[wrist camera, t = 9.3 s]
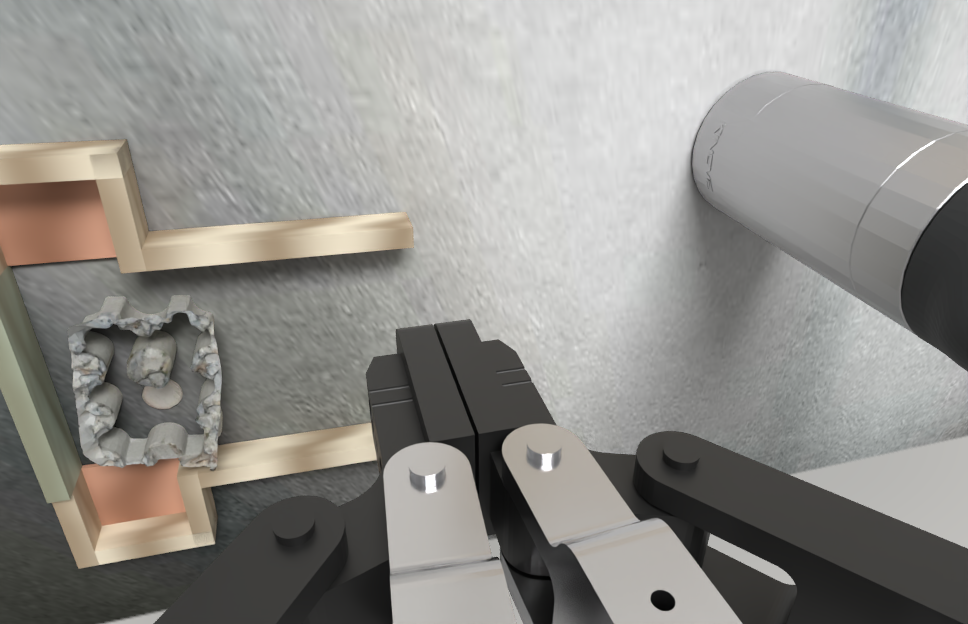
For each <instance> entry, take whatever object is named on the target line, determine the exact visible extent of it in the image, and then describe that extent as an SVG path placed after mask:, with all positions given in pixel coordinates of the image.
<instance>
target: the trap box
mask: <svg viewBox="0 0 968 624" xmlns="http://www.w3.org/2000/svg"><path fill="white" fill-rule="evenodd" d="M403 248H414V241H413V227H412V224H411V222H410V220H409V218H408V216H407V214H406V212H399V213H386V214H373V215H360V216H347V217H333V218H320V219H307V220H294V221H280V222H267V223H254V224H241V225H227V226H214V227H201V228H188V229H175V230H161V231H149V230H148V225H147V221H146V217H145V213H144V209H143V205H142V201H141V196H140V192H139V188H138V184H137V180H136V176H135V172H134V167H133V163H132V159H131V155H130V151H129V147H128V143H127V139H123V140H101V141H79V142H57V143H34V144H12V145H0V389H1V391H2V393H3V396H4V398H5V401H6V403H7V406H8V408H9V411H10V413H11V415H12V418H13V420H14V423H15V425H16V428H17V430H18V432H19V435H20V437H21V440H22V442H23V445H24V447H25V450H26V452H27V454H28V457H29V459H30V462H31V464H32V467H33V469H34V472H35V474H36V476H37V479H38V481H39V484H40V486H41V489H42V491H43V494H44V496H45V498H46V501H47V503H52V504H53V506H54V509H55V511H56V514H57V516H58V519H59V521H60V524H61V526H62V528H63V531H64V533H65V536H66V538H67V541H68V543H69V546H70V548H71V551H72V553H73V556H74V558H75V561H76V563H77V566H78V568H85V567H90V566H96V565H101V564H107V563H112V562H118V561H123V560H129V559H134V558H140V557H145V556H151V555H156V554H162V553H168V552H173V551H179V550H184V549H190V548H195V547H201V546H206V545H212V544H215V539H216V529H217V518H218V515H217V511H216V507H215V503H214V499H213V495H212V491H211V487H212V486H219V485H225V484H231V483H237V482H243V481H249V480H256V479H262V478H268V477H274V476H280V475H286V474H293V473H299V472H305V471H311V470H317V469H323V468H330V467H336V466H342V465H348V464H354V463H360V462H367V461H373V460H377V457H376V451H375V446H374V440H373V434H372V425H371V423H365V424H358V425H352V426H345V427H338V428H332V429H325V430H318V431H311V432H305V433H298V434H291V435H284V436H278V437H271V438H264V439H258V440H251V441H244V442H237V443H231V444H224V445H218V448H217V459H218V462H217V468H216V470H214V471H211V470H210V467H206V466H201V467H184V466H182V465H181V464H180V461H179V460H178V459H179V458H172V459H160V460H158V461H157V463H156V464H155V465H153V466H146V465H145V464H131V465H126V466H125V467H124V468H121V467H116V466H100V465H98V464H89V465H83V466H82V463H81V460H80V457H79V455H78V452H77V449H76V446H75V443H74V441H73V438H72V435H71V432H70V430H69V427H68V424H67V421H66V419H65V416H64V413H63V410H62V407H61V405H60V402H59V399H58V396H57V394H56V391H55V388H54V385H53V382H52V380H51V377H50V374H49V371H48V369H47V366H46V363H45V360H44V357H43V355H42V352H41V349H40V346H39V344H38V341H37V338H36V335H35V333H34V330H33V327H32V324H31V321H30V319H29V316H28V313H27V310H26V308H25V305H24V302H23V299H22V296H21V294H20V291H19V288H18V285H17V283H16V280H15V277H14V274H13V271H12V269H11V266H14V265H26V264H38V263H50V262H62V261H74V260H86V259H98V258H110V257H117V260H118V263H119V267H120V271H121V273H132V272H143V271H155V270H166V269H177V268H189V267H200V266H211V265H222V264H234V263H245V262H256V261H268V260H279V259H290V258H302V257H313V256H324V255H335V254H347V253H358V252H369V251H381V250H392V249H403Z"/></svg>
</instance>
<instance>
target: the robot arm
mask: <svg viewBox="0 0 968 624" xmlns="http://www.w3.org/2000/svg"><path fill="white" fill-rule="evenodd" d="M692 167H693V175H694V180H695V182H696V185H697V188H698V190H699V192H700V193H701V194H702V196H703V197H704V199H705V200H706V201H707V202H709V203H710V204H711V205H712V206H714V207H715V208H717V209H718V210H720V211H721V212H723V213H725V214H726V215H728V216H729V217H731V218H732V219H734V220H736V221H737V222H739V223H740V224H742V225H743V226H745V227H746V228H748V229H749V230H751V231H752V232H754V233H755V234H757V235H759V236H760V237H762V238H763V239H765V240H767V241H768V242H770V243H771V244H773V245H774V246H776V247H778V248H779V249H781V250H782V251H784V252H785V253H787V254H789V255H790V256H792V257H793V258H795V259H797V260H798V261H800V262H801V263H803V264H804V265H806V266H808V267H809V268H811V269H812V270H814V271H815V272H817V273H819V274H820V275H822V276H823V277H825V278H827V279H828V280H830V281H831V282H833V283H834V284H836V285H838V286H839V287H841V288H842V289H844V290H846V291H847V292H849V293H850V294H852V295H853V296H855V297H857V298H858V299H860V300H861V301H863V302H864V303H866V304H868V305H869V306H871V307H873V308H874V309H876V310H878V311H879V312H881V313H882V314H884V315H885V316H887V317H889V318H890V319H892V320H893V321H895V322H896V323H898V324H900V325H901V326H903V327H904V328H906V329H907V330H909V331H911V332H912V333H914V334H915V335H917V336H918V337H919V338H921V339H923V340H924V341H926V342H927V343H929V344H931V345H932V346H934V347H935V348H937V349H939V350H940V351H941V352H943V353H944V354H946V355H947V356H948V357H949V358H951V359H952V360H953V361H954V362H956V363H957V364H958V365H959V366H961V367H962V368H964V369H965V370H966V371H968V125H966V124H962V123H959V122H955V121H952V120H948V119H945V118H941V117H938V116H934V115H931V114H927V113H924V112H920V111H917V110H913V109H910V108H906V107H903V106H899V105H896V104H892V103H889V102H885V101H882V100H878V99H875V98H871V97H868V96H864V95H861V94H857V93H854V92H850V91H847V90H843V89H840V88H836V87H833V86H830V85H827V84H823V83H820V82H816V81H812V80H809V79H805V78H801V77H798V76H794V75H790V74H787V73H783V72H766V73H762V74H758V75H754V76H752V77H750V78H747V79H745V80H743V81H741V82H739V83H738V84H737V85H735V86H734V87H733V88H731V89H730V90H729V91H727V92H726V93H725V94H724V95H723V96H722V97H721V98H720V99H719V100H718V101H717V103H716V104H715V105H714V106H713V107H712V109H711V110H710V112H709V113H708V115H707V116H706V118H705V119H704V121H703V124H702V126H701V128H700V130H699V132H698V135H697V138H696V142H695V146H694V149H693V161H692ZM396 344H397V354H392V355H385V356H378V357H374V358H373V360H372V362H371V364H370V366H369V368H368V370H367V372H366V378H367V388H368V397H369V407H370V416H371V425H372V434H373V440H374V446H375V451H376V457H377V463H378V467H379V474H380V475H379V477H378V479H377V480H376V482H375V483H374V484H373V486H372V487H371V488H370V489H368V490H367V491H366V492H365V493H364V494H362V495H361V496H359V497H357V498H356V499H354V500H352V501H350V502H347V503H345V504H343V505H341V506H339V507H337V506H336V505H335V504H334V503H332V502H331V501H329V500H326V499H324V498H321V497H317V496H296V497H291V498H287V499H284V500H281V501H279V502H276V503H275V504H273V505H271V506H269V507H268V508H266V509H265V510H263V511H262V512H261V513H260V514H259V515H258V516H256V517H255V519H254V520H253V521H252V522H251V523H250V524H249V525H248V526H247V527H246V528H245V529H244V530H243V531H242V532H241V533H240V534H239V535H238V536H237V537H236V538H235V539H234V540H233V541H232V543H231V544H230V545H229V546H228V547H227V548H226V549H225V550H224V551H223V552H222V553H221V554H220V555H219V556H218V557H217V558H216V559H215V560H214V561H213V562H212V563H211V564H210V566H209V567H208V568H207V569H206V570H205V571H204V572H203V573H202V574H201V575H200V576H199V577H198V578H197V579H196V580H195V581H194V582H193V583H192V584H191V585H190V586H189V587H188V588H187V590H186V591H185V592H184V593H183V594H182V595H181V596H180V597H179V598H178V599H177V600H176V601H175V602H174V603H173V604H172V605H171V606H170V607H169V608H168V609H167V610H166V611H165V612H164V614H163V615H162V616H161V617H160V618H159V619H158V620H157V621H156V622H155V623H154V624H517V623H516V619H515V615H514V611H513V607H512V603H511V599H510V595H509V592H510V594H511V596H512V599H513V601H514V603H515V606H516V608H517V610H518V612H519V614H520V617H521V619H522V621H523V624H968V549H967V548H965V547H962V546H960V545H958V544H955V543H953V542H950V541H948V540H945V539H943V538H940V537H938V536H936V535H933V534H931V533H928V532H926V531H924V530H921V529H919V528H916V527H914V526H912V525H909V524H907V523H904V522H902V521H900V520H897V519H894V518H892V517H890V516H887V515H885V514H882V513H880V512H878V511H875V510H873V509H870V508H868V507H865V506H863V505H861V504H858V503H856V502H854V501H851V500H849V499H846V498H844V497H841V496H839V495H837V494H834V493H832V492H829V491H827V490H824V489H822V488H820V487H817V486H815V485H812V484H810V483H808V482H805V481H803V480H800V479H798V478H795V477H793V476H791V475H788V474H786V473H783V472H781V471H779V470H776V469H774V468H771V467H769V466H767V465H764V464H762V463H759V462H757V461H754V460H752V459H750V458H747V457H745V456H742V455H740V454H738V453H735V452H733V451H730V450H728V449H725V448H723V447H721V446H718V445H716V444H713V443H711V442H709V441H706V440H704V439H701V438H699V437H696V436H694V435H691V434H687V433H683V432H676V431H665V432H658V433H654V434H652V435H649V436H648V437H646V438H644V439H643V440H642V441H641V442H640V444H639V446H638V448H637V453H636V455H628V454H612V453H601V452H596V451H591V450H588V449H587V448H586V446H585V445H584V443H583V442H582V441H581V440H580V438H579V437H578V436H576V435H575V434H574V433H572V432H571V431H569V430H567V429H565V428H563V427H560V426H557V425H556V423H555V422H554V420H553V418H552V416H551V414H550V413H549V411H548V409H547V407H546V405H545V404H544V402H543V400H542V398H541V396H540V395H539V393H538V391H537V389H536V387H535V385H534V384H533V383H532V382H531V378H530V376H529V375H528V373H527V371H526V370H525V369H524V366H523V364H522V362H521V360H520V358H519V356H518V355H517V353H516V351H514V350H513V349H511V348H510V347H508V346H507V345H506V344H504V343H503V342H501V341H500V340H492V341H484V342H481V340H480V338H479V336H478V334H477V332H476V329H475V327H474V325H473V323H472V321H471V320H470V319H468V320H460V321H453V322H445V323H437V324H434V326H433V325H432V324H431V325H423V326H416V327H408V328H400V329H396ZM710 533H711V534H713V535H715V536H717V537H719V538H721V539H723V540H725V541H727V542H729V543H731V544H733V545H736V546H737V547H740V548H742V549H744V550H746V551H748V552H750V553H752V554H754V555H756V556H758V557H760V558H762V559H764V560H767V561H768V562H770V563H772V564H774V565H777V566H778V567H780V568H781V569H783V570H784V571H785V572H787V573H788V574H789V575H790V576H791V578H792V579H793V580H794V582H795V584H796V585H788V584H784V583H781V582H780V581H777V580H775V579H773V578H771V577H769V576H767V575H765V574H763V573H761V572H759V571H757V570H755V569H753V568H751V567H749V566H747V565H745V564H743V563H741V562H739V561H737V560H735V559H733V558H731V557H729V556H727V555H725V554H723V553H721V552H719V551H717V550H715V549H713V548H711V547H709V546H707V544H708V540H709V536H710ZM493 534H496V536H497V539H498V542H499V545H500V560H499V558H498V557H492V554H491V549H490V545H489V541H488V537H487V536H488V535H493ZM508 590H509V591H508Z"/></svg>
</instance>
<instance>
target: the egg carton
mask: <svg viewBox="0 0 968 624" xmlns="http://www.w3.org/2000/svg"><path fill="white" fill-rule="evenodd" d="M176 313H186V314H187V316H188V318H189V321H190V323H191V325H193V326H195V327H196V328H198V329H199V330H200V331H202V333H201V334H200V335H199V336H198V338H197V342H196V346H195V349H194V354H193V360H192V365H191V370H192V372H199V373H200V374H202V375H203V376H204V377H206V378H208V379H207V380H206V381H205V382H204V383H203V385H202V387H201V393H200V397H199V403H198V408H197V409H196V411H197V413H198V416H197V418H196V420H195V421H196V422H197V423H198V424H199V425H200V428H202V429H203V430H204V434H201V435H188V433H187V432H186V430H185V429H184V428H183V427H182V426H181V425H178V424H176V423H162V424H159V425H156V426H155V427H153V428H152V429H151V431H150V433H149V435H148V438H146V439H132V438H130V437H129V435H128V434H127V433H126V432H125V431H124V430H122V429H120V428H116V427H113V426H114V424H115V421H116V419H117V416H118V412H119V409H120V406H121V403H122V399H123V396H122V393H121V392H120V390H119V389H118V388H117V387H116V386H114V385H112V384H110V383H107V382H104V379H105V376H106V373H107V371H108V368H109V365H110V363H111V360H112V357H113V355H114V346H113V344H112V342H111V341H110V339H108V338H107V337H106V336H104V335H102V334H99V333H96V332H91V331H89V330H90V329H92V328H102V329H107V328H110V327H111V326H112V325H113V324H116V325H118V327H119V329H120V330H131V331H133V332H134V333H135V334H137V335H139V337H137V339H136V340H135V343H134V346H133V348H132V351H131V354H130V356H129V359H128V361H127V376H128V377H129V378H130V379H131V380H133V381H135V382H136V383H137V384H139V385H142V386H145V387H144V389H143V394H142V397H143V399H144V401H145V402H146V403H147V404H148V405H149V406H151V407H153V408H156V409H170V408H171V407H173V406H175V405H177V404H178V403H179V402H180V400H181V399H182V395H183V392H182V389H181V387H180V386H179V385H178V384H177V383H176V382H174V381H173V380H170V374H171V371H172V369H173V364H174V360H175V356H176V351H177V344H176V341H175V339H174V338H173V337H172V336H171V335H170V334H168V333H166V332H164V331H159V330H160V329H161V328H162V326H163V324H164V322H165V323H170V322H172V318H173V315H174V314H176ZM205 329H208V330H205ZM67 331H68V341H69V350H70V352H71V357H72V366H71V368H72V369H73V390H74V394H75V399H76V410H77V414H78V422H79V433H80V442H81V448H82V451H83V454H84V455H85V456H86V457H87V458H88V459H90V460H91V461H93V462H95V463H96V464H98V465H100V466H116V467H121V468H124V467H125V466H126V465H131V464H145V465H146V466H153V465H155V464H156V463H157V461H158V460H160V459H172V458H179V459H178V460H179V461H180V464H181V465H182V466H184V467H201V466H206V467H210V470H211V471H214V470H216V468H217V462H218V459H217V448H218V444H217V441H218V437H219V436H220V434H221V431H222V418H223V416H222V411H221V406H220V397H221V384H222V373H221V365H220V359H219V354H218V349H217V343H216V340H215V337H214V317H213V314H212V313H211V312H207V311H203V310H201V309H199V308H198V307H197V306H196V305H195V304H194V302H193V300H192V298H191V297H190V295H173V296H171V300H170V304H169V306H168V307H167V308H166V309H165V310H164V311H162V312H160V313H156V314H145V313H141V312H140V311H138V310H136V309H135V308H134V307H132V306H131V304H130V303H129V301H128V299H127V298H126V297H123V296H118V297H111V296H110V297H106V299H105V301H104V303H103V305H102V307H101V309H100V311H99V312H97V313H96V314H93V315H89V316H86V317H85V319H84V320H83V323H81V324H77V325H74V326H71V327H69V328H68V330H67Z"/></svg>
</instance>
